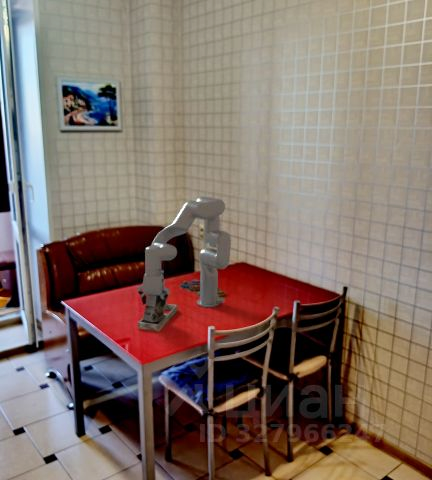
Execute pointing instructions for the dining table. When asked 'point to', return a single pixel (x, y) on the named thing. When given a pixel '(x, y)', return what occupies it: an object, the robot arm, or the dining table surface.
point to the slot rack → (158, 325)
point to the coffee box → (154, 308)
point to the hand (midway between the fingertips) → (153, 305)
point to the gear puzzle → (197, 287)
